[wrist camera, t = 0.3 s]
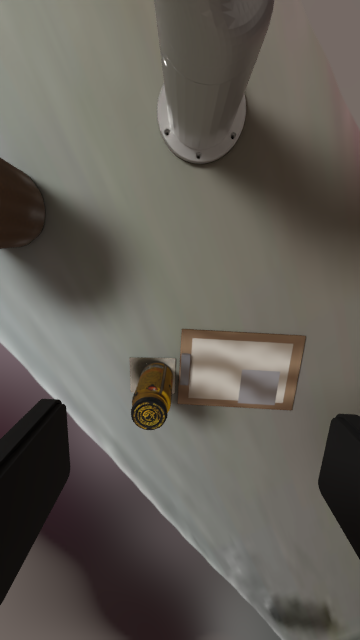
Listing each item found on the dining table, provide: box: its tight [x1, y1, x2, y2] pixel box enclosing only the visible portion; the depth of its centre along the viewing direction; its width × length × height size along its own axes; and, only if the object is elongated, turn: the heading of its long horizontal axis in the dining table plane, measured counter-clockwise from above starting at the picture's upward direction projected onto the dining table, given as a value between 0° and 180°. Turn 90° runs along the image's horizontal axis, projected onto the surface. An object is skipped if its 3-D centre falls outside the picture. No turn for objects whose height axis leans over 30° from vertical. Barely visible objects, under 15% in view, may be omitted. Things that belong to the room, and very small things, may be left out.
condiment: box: [130, 357, 175, 430], centre depth 42 cm, size 7×8×12 cm
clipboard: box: [178, 329, 306, 410], centre depth 46 cm, size 15×22×1 cm
